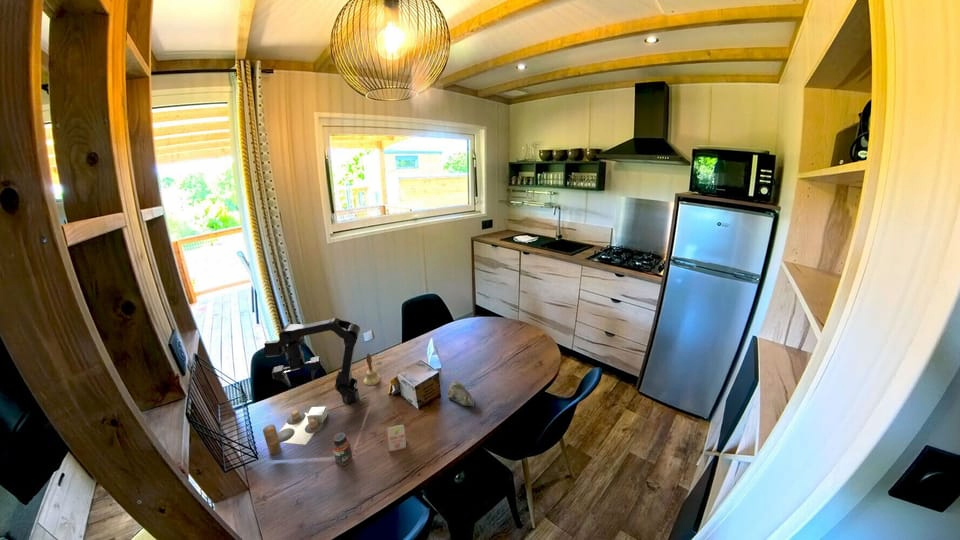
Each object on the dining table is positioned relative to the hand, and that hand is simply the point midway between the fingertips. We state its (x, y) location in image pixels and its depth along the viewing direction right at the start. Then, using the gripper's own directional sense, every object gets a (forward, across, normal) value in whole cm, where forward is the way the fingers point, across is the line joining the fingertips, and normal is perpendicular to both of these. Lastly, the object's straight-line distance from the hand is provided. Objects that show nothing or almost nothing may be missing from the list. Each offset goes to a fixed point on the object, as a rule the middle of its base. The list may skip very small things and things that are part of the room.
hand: (301, 383), depth 147 cm
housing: (+12, -4, +11) cm, 17 cm away
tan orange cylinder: (+13, +11, +22) cm, 28 cm away
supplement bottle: (+14, -13, +37) cm, 42 cm away
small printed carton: (+14, -32, +40) cm, 53 cm away
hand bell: (+14, -30, -7) cm, 34 cm away
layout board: (+13, +2, +13) cm, 19 cm away
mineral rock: (+15, -64, +28) cm, 72 cm away
